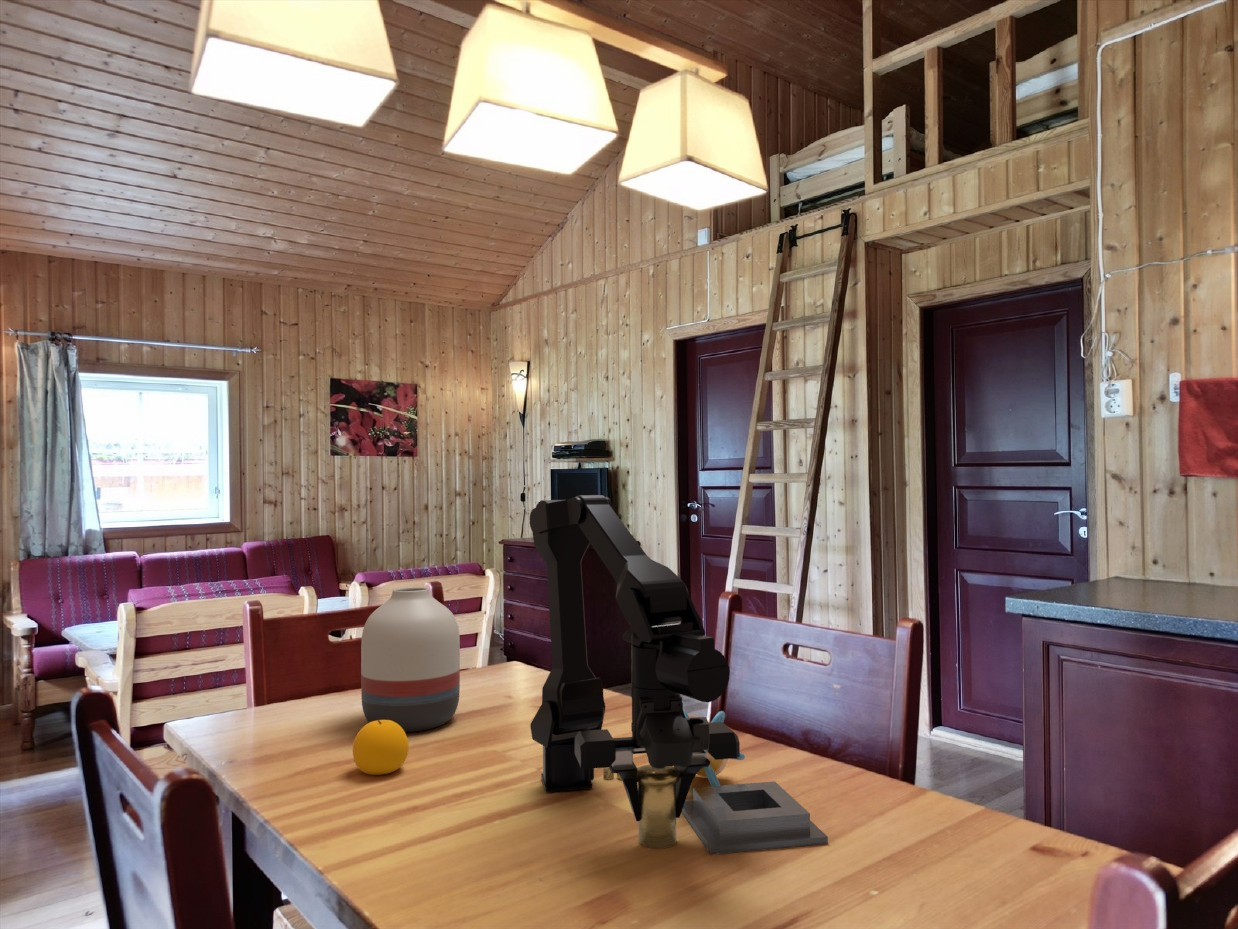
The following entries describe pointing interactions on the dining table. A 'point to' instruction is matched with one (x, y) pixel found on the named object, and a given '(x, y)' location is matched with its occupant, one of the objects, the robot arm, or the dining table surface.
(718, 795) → the plate
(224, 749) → the dining table surface
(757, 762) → the dining table surface
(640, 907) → the dining table surface
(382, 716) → the vase
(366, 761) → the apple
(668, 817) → the bushing
